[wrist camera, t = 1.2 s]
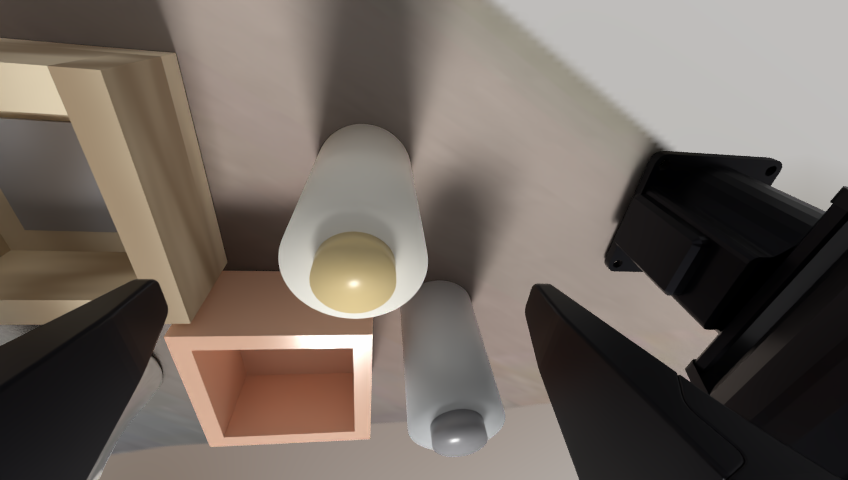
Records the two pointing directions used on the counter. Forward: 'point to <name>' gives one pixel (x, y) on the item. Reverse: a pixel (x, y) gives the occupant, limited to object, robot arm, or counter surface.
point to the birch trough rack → (99, 181)
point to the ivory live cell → (356, 228)
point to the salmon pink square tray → (273, 365)
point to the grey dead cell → (447, 372)
